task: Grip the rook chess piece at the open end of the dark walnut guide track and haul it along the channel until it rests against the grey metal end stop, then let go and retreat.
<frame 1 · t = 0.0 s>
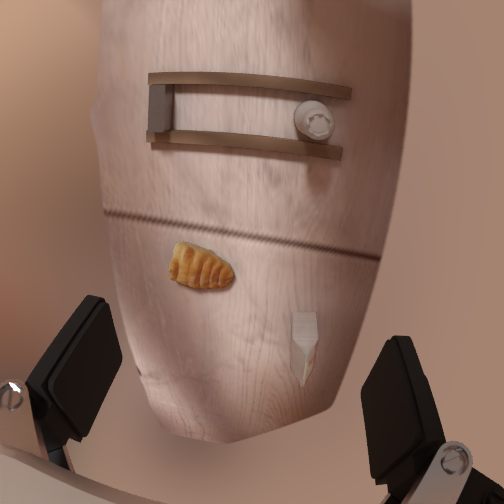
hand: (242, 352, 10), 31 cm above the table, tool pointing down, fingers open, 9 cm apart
end stop: (165, 106, 35), on the table
white gable top carton: (302, 326, 50), on the table
pastry: (199, 261, 46), on the table
guide track: (244, 110, 35), on the table
rook chess piece: (311, 117, 34), on the table
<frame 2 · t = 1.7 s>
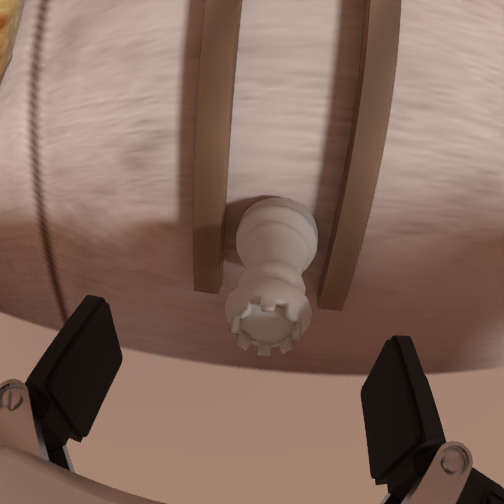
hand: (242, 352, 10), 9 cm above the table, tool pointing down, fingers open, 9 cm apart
guide track: (295, 86, 14), on the table
rook chess piece: (277, 230, 18), on the table
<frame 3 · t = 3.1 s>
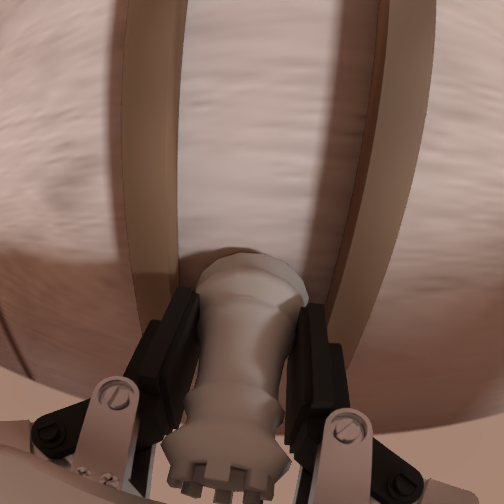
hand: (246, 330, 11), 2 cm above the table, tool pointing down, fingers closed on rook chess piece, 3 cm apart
guide track: (274, 81, 9), on the table
rook chess piece: (252, 292, 13), on the table, touching gripper
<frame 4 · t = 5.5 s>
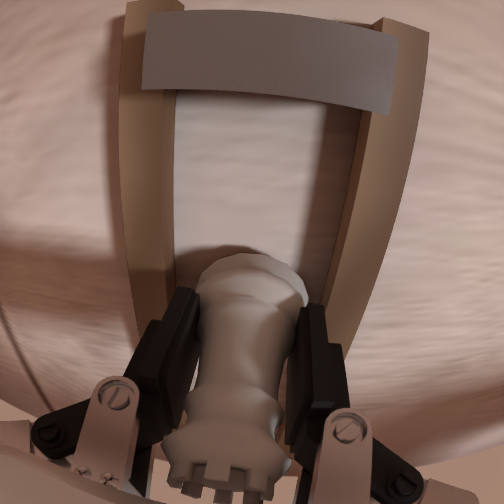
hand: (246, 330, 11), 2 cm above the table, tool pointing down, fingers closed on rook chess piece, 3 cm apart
end stop: (272, 63, 8), on the table
guide track: (244, 317, 13), on the table
rook chess piece: (252, 292, 13), on the table, touching gripper
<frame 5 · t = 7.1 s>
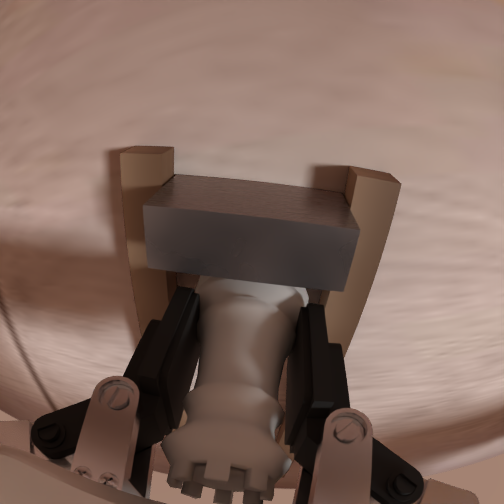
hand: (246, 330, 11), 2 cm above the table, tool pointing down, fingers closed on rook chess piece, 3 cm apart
end stop: (255, 208, 11), on the table
guide track: (238, 383, 16), on the table
rook chess piece: (252, 292, 13), on the table, touching gripper
when the fingers open (2 cm above the table, at t = 7.8 s): rook chess piece stays where it is, on the table.
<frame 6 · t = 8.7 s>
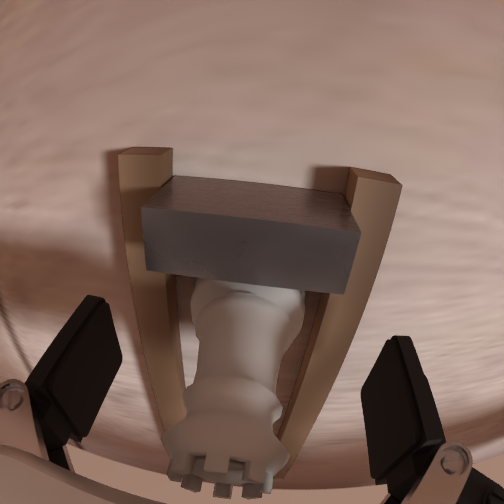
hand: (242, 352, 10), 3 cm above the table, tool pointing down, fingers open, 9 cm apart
end stop: (255, 210, 11), on the table
guide track: (238, 385, 16), on the table
rook chess piece: (250, 288, 13), on the table
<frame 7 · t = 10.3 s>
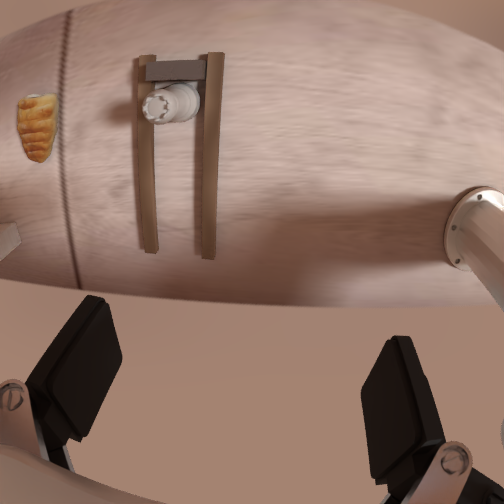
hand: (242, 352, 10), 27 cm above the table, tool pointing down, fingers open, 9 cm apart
end stop: (181, 71, 28), on the table
white gable top carton: (7, 232, 40), on the table
pastry: (45, 120, 32), on the table
guide track: (178, 158, 33), on the table
rook chess piece: (181, 102, 30), on the table
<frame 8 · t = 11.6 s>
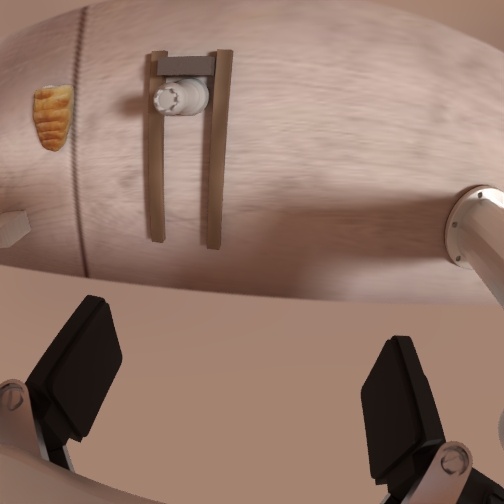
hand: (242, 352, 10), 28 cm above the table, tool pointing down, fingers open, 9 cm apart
end stop: (191, 67, 30), on the table
white gable top carton: (17, 220, 42), on the table
pastry: (60, 111, 33), on the table
guide track: (187, 150, 35), on the table
rook chess piece: (191, 96, 32), on the table
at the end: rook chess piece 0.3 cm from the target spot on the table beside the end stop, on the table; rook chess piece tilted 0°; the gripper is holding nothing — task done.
